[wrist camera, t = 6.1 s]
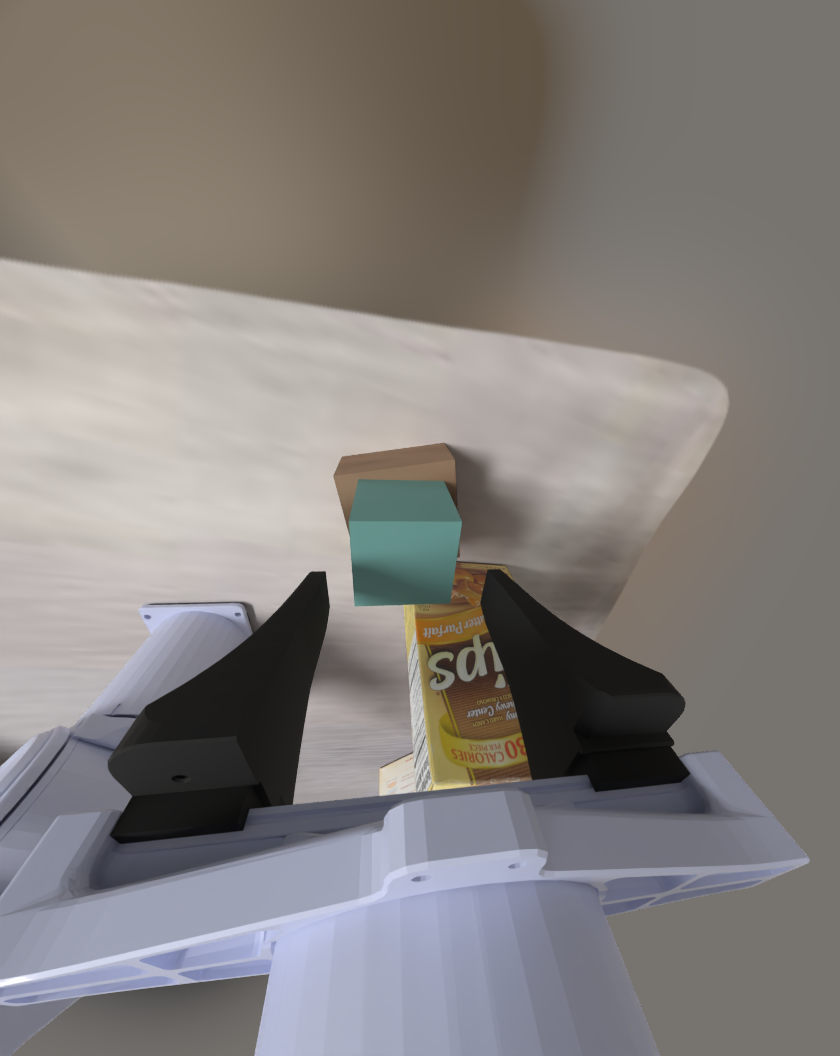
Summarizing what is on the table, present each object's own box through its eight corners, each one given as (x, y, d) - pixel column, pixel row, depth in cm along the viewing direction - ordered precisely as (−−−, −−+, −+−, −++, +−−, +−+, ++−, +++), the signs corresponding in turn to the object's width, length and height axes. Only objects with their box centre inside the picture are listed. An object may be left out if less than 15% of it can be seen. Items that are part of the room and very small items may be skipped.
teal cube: (436, 550, 20) (450, 603, 16) (361, 550, 20) (354, 606, 15) (443, 481, 18) (462, 521, 13) (358, 479, 17) (348, 521, 13)
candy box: (506, 563, 26) (629, 775, 13) (493, 599, 28) (588, 813, 15) (407, 556, 25) (431, 786, 12) (401, 594, 27) (416, 827, 14)
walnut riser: (449, 528, 24) (459, 557, 21) (363, 540, 24) (359, 571, 20) (443, 441, 20) (454, 459, 17) (342, 455, 20) (333, 476, 17)
